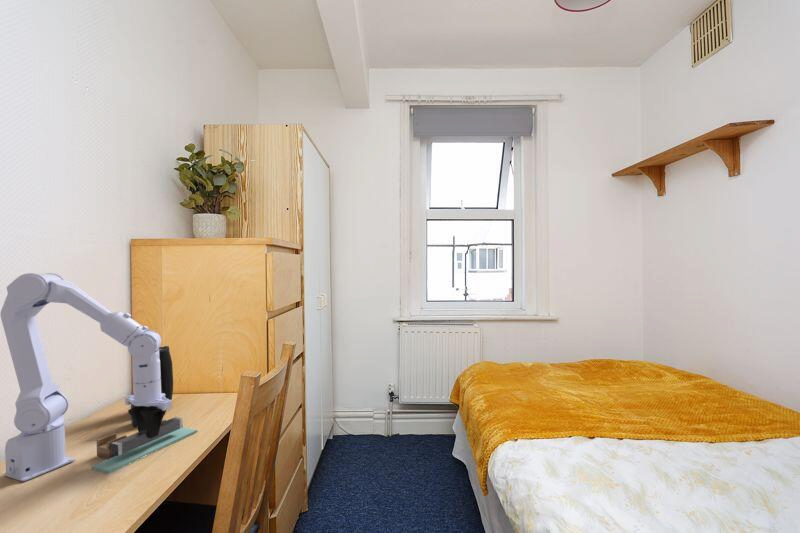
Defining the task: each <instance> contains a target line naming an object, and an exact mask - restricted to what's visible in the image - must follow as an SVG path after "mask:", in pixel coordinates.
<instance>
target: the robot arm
mask: <svg viewBox="0 0 800 533" xmlns="http://www.w3.org/2000/svg"><path fill="white" fill-rule="evenodd" d="M6 290H7V295H6V297H5V299H4V302H3V303H2V304H3V305H2V308H1V309H0V318H1V322H2V323H1V324H2V326H3V330H4V334H5V337H6V341H7V347H8V349H9V353H10V356H11V361H12V365H13V367H14V372H15V375H16V379H17V382H18V387H19V389H20V392H19V393H18V396H17V399H16V401H15V403H14V404H15V408H16V412H15V415H14V418H13V424H14V426H15V428H16V429H17V430H19V432H20V433H19V434H18V435H16V436H13V437H11V438H8V439H7V440H6V443H5V448H4V451H5V452H4V453H5V454H4V456H5V472H4V474H3V475H4V476H5V477H8V478H11V479H13V480H17V481H20V482H26V481H29V480H30V479H33V478H36V477H38V476H41V475H43V474H46V473H48V472H51V471H52V470H55V469H58V468H61V467H63V466H65V465H67V464H70V463H73V462H74V461H76V459H75V458H74V457H70V456H67V455H66V432H65V429H66V428H65V427H66V426H65V419H64V415H65V414H66V412H67V411H68V409H69V407H70V402H69V399H68V397H67V396H66V395H65V394H63V392H62V391H61V389H60V386H59V385H58V384H57V383H55V382H54V381H53V379H52V375H51V372H50V368H49V364H48V360H47V356H46V353H45V352H46V351H45V347H44V346H43V341H42V338H41V333H40V329H39V326H38V323H37V318H36V316H37V315H38V314H39V313H40V312H41V311H42V310H43V309H44V308H45V307H46V305H48V304H50V303H59V304H67V305H69V306H70V307H72V308H74V309H75V310H77V311H79V312H81V313H82V314H84V315H86V316H87V317H89V318H91V319H93V320H94V321H96V322H97V323H99V325H100V331H101V332H102V333H104V334H105V335H107V336H109V337H110V338H112V339H113V340H115V341H116V342H118V343H119V344H120V345H123V347H127V351H128V353H129V354H130V355H131V356H132V364H131V366H132V386H133V388H132V389H133V390H132V391H133V392H132V393H134V395H132V394H131V395H128V396H125V397H124V405H126V406H130V405H131V404H133V405H134V408H132V409H131V408H129V409H128V410H127V413H128V414H129V415H130V418H131V417H132V418H133V420H134V421H135V424H136V426H137V427H136V429H137V431H138V432H140V431H142V430H145V429H147V435H148V438H153V437H155V436H158V434H159V430H160V426H161V422H162V420H164V416H165V414H166V413H167V411H168V410H170V409H173V401H172V400H173V399H172V400H169V399H167V398H165V394H164V393H161V372H160V359H159V356H160V355H159V350H158V349H159V347H162V346H161V345H162V342H163V341H162V337H161V335H160V334H159V333H158V332H157V330H154V329H149V327H148V326H147V325H144V326H143V325H142V324H140V323H139V322H138V321H136V320H135V319H133V318H131V317H132V314H130V313H129V312H125V313H124V312H122V311H114V312H112V311H111V310H110V309H108V308H107V307H105V306H104V305H103V304H102V303H100V302H99V301H97V300H96V299H94V298H93V297H92V296H91V295H89V294H87V292H85V291H84V290H82V289H81V288H80V287H78V286H77V285H76V284H75V283H73V282H72V281H70V280H68V279H64V277H63V276H61V275H59V274H57V273H52V272H51V273H49V272H47V273H33V272H31V273H30V272H29V273H24V274H21V275H19V276H17V277H16V278H15V279H14V280H13V281H12V282H11V283H10V284H8V285H7V286H6ZM157 350H158V351H157ZM155 351H156V352H155ZM138 432H137V433H138Z"/></svg>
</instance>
